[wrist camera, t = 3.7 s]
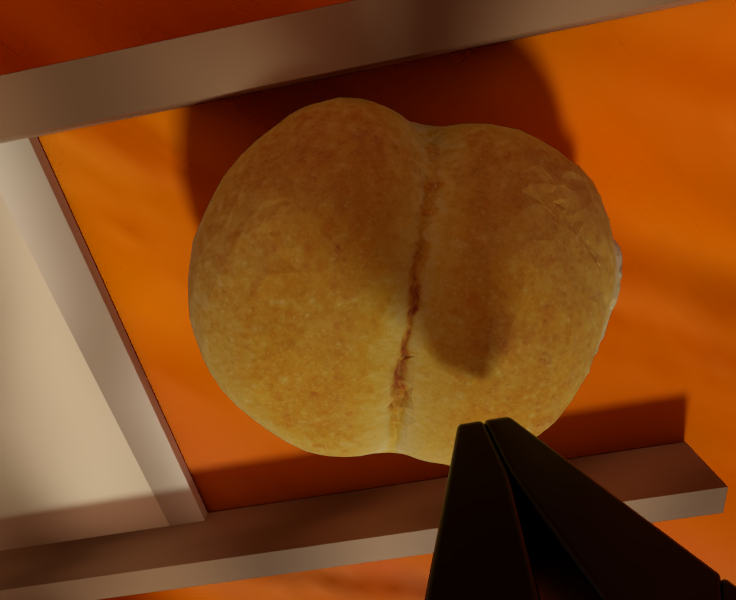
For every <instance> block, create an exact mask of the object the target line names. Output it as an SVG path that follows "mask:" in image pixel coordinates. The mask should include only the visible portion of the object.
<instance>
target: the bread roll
mask: <svg viewBox="0 0 736 600" xmlns="http://www.w3.org/2000/svg"><path fill="white" fill-rule="evenodd" d="M621 277H622V253H621V249H620V246H619V245H618V244H617V243H616V241H615V240H614V239H613V236H612V231H611V227H610V222H609V218H608V216H607V213H606V211H605V208H604V205H603V203H602V200H601V197H600V195H599V193H598V191H597V189H596V187H595V185H594V183H593V181H592V180H591V179H590V178H589V177H588V176H587V175H586V173H585V172H584V171H583V170H582V169H581V168H580V167H579V166H578V165H576V164H575V163H573V162H572V161H570V160H569V159H568V158H567V157H565V156H564V155H563V154H562V153H561V152H559V151H558V150H556V149H555V148H553V147H551V146H550V145H548V144H547V143H545V142H543V141H541V140H540V139H538V138H536V137H534V136H531V135H529V134H527V133H525V132H523V131H521V130H519V129H514V128H508V127H503V126H498V125H493V124H457V125H451V126H431V125H424V124H419V123H415V122H410V121H408V120H407V119H405V118H404V117H403V116H402V115H401V114H399V113H398V112H396V111H394V110H392V109H390V108H388V107H385V106H383V105H380V104H378V103H376V102H373V101H370V100H366V99H362V98H345V97H338V98H334V99H330V100H326V101H322V102H318V103H315V104H311V105H308V106H306V107H303V108H301V109H299V110H297V111H295V112H293V113H292V114H290V115H289V116H287V117H286V118H285V119H283V120H282V121H281V122H279V123H278V124H277V125H276V126H274V127H273V128H272V129H270V130H269V131H268V132H267V133H265V134H264V135H263V136H261V137H260V138H259V139H258V140H256V141H255V142H254V143H253V144H252V145H251V146H250V147H249V148H248V149H247V150H246V151H245V152H244V153H243V154H242V155H241V156H240V157H239V158H238V159H237V160H236V162H235V163H234V164H233V165H232V166H231V167H230V169H229V170H228V171H227V172H226V174H225V175H224V176H223V178H222V180H221V182H220V183H219V185H218V187H217V189H216V191H215V193H214V195H213V197H212V199H211V200H210V202H209V204H208V206H207V209H206V211H205V213H204V215H203V218H202V220H201V223H200V225H199V227H198V230H197V232H196V235H195V238H194V240H193V244H192V252H191V259H190V267H189V275H188V301H189V315H190V321H191V324H192V328H193V332H194V335H195V338H196V340H197V343H198V346H199V348H200V351H201V354H202V357H203V359H204V361H205V363H206V365H207V367H208V369H209V371H210V373H211V374H212V376H213V377H214V379H215V380H216V382H217V383H218V385H219V386H220V388H221V389H222V390H223V391H224V392H225V394H226V395H227V396H228V397H229V398H230V399H231V400H232V401H233V402H234V403H235V404H236V406H238V407H239V408H240V409H241V410H243V411H244V412H245V413H246V414H247V415H249V416H250V417H251V418H252V419H254V420H255V421H256V422H258V423H259V424H260V425H262V426H263V427H264V428H266V429H267V430H269V431H270V432H272V433H273V434H275V435H277V436H278V437H280V438H281V439H283V440H284V441H286V442H288V443H290V444H292V445H294V446H296V447H298V448H300V449H302V450H304V451H307V452H311V453H315V454H319V455H325V456H336V457H353V456H363V455H368V454H373V453H388V452H389V453H400V454H405V455H408V456H411V457H414V458H416V459H419V460H423V461H427V462H432V463H439V464H445V465H450V463H451V458H452V453H453V448H454V442H455V437H456V432H457V428H458V426H459V425H460V424H464V423H470V422H476V421H481V422H483V423H485V421H486V420H489V419H495V418H501V417H509V418H512V419H513V420H515V421H516V422H517V423H519V424H520V425H521V426H523V427H524V428H525V429H527V430H528V431H529V432H531V433H532V434H533V435H535V436H536V437H537V436H538V435H539V434H541V433H542V432H543V431H545V430H546V429H547V428H549V427H550V426H551V425H552V424H553V423H554V422H555V421H556V420H557V419H558V418H559V417H560V415H561V414H562V413H563V411H564V410H565V409H566V407H567V406H568V405H569V403H570V402H571V400H572V399H573V397H574V396H575V394H576V392H577V391H578V389H579V387H580V386H581V384H582V382H583V381H584V379H585V377H586V375H587V374H588V373H589V370H590V366H591V364H592V361H593V358H594V356H595V354H596V353H597V352H598V348H599V344H600V342H601V340H602V338H603V337H604V334H605V331H606V327H607V324H608V321H609V318H610V315H611V312H612V309H613V308H614V306H615V304H616V302H617V298H618V294H619V291H620V280H621Z"/></svg>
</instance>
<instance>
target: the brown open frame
mask: <svg viewBox="0 0 736 600" xmlns="http://www.w3.org/2000/svg"><path fill="white" fill-rule="evenodd" d="M702 1H707V0H353V1H349V2H344V3H339V4H334V5H330V6H325V7H320V8H316V9H311V10H306V11H302V12H297V13H292V14H288V15H283V16H278V17H273V18H269V19H264V20H259V21H255V22H250V23H245V24H241V25H236V26H231V27H226V28H222V29H217V30H212V31H208V32H203V33H198V34H194V35H189V36H184V37H179V38H175V39H170V40H165V41H161V42H156V43H151V44H147V45H142V46H137V47H133V48H128V49H123V50H118V51H114V52H109V53H104V54H100V55H95V56H90V57H86V58H81V59H76V60H71V61H67V62H62V63H57V64H53V65H48V66H43V67H39V68H34V69H29V70H24V71H20V72H15V73H10V74H6V75H1V76H0V600H99V599H106V598H113V597H121V596H128V595H135V594H142V593H149V592H156V591H164V590H171V589H178V588H185V587H192V586H199V585H207V584H214V583H221V582H228V581H235V580H243V579H250V578H257V577H264V576H271V575H278V574H286V573H293V572H300V571H307V570H314V569H321V568H329V567H336V566H343V565H350V564H357V563H365V562H372V561H379V560H386V559H393V558H400V557H408V556H415V555H422V554H429V553H434V548H435V542H436V537H437V532H438V527H439V521H440V516H441V511H442V506H443V500H444V495H445V490H446V485H447V479H448V477H446V478H439V479H432V480H426V481H419V482H412V483H405V484H399V485H392V486H385V487H379V488H372V489H365V490H358V491H352V492H345V493H338V494H332V495H325V496H318V497H311V498H305V499H298V500H291V501H285V502H278V503H271V504H264V505H258V506H251V507H244V508H238V509H231V510H224V511H217V512H211V513H208V512H207V510H206V508H205V506H204V504H203V501H202V499H201V497H200V495H199V493H198V490H197V488H196V486H195V484H194V482H193V479H192V477H191V475H190V473H189V470H188V468H187V466H186V464H185V462H184V459H183V457H182V455H181V453H180V451H179V448H178V446H177V444H176V442H175V440H174V437H173V435H172V433H171V431H170V429H169V426H168V424H167V422H166V420H165V418H164V415H163V413H162V411H161V409H160V407H159V404H158V402H157V400H156V398H155V396H154V393H153V391H152V389H151V387H150V385H149V382H148V380H147V378H146V376H145V374H144V371H143V369H142V367H141V365H140V363H139V360H138V358H137V356H136V354H135V352H134V349H133V347H132V345H131V343H130V341H129V338H128V336H127V334H126V332H125V330H124V327H123V325H122V323H121V321H120V318H119V316H118V314H117V312H116V310H115V307H114V305H113V303H112V301H111V299H110V296H109V294H108V292H107V290H106V288H105V285H104V283H103V281H102V279H101V277H100V274H99V272H98V270H97V268H96V266H95V263H94V261H93V259H92V257H91V255H90V252H89V250H88V248H87V246H86V244H85V241H84V239H83V237H82V235H81V233H80V230H79V228H78V226H77V224H76V222H75V219H74V217H73V215H72V213H71V211H70V208H69V206H68V204H67V202H66V200H65V197H64V195H63V193H62V191H61V189H60V186H59V184H58V182H57V180H56V178H55V175H54V173H53V171H52V169H51V166H50V164H49V162H48V160H47V158H46V155H45V153H44V151H43V149H42V147H41V144H40V142H39V140H38V138H37V137H39V136H43V135H48V134H53V133H58V132H63V131H68V130H73V129H78V128H83V127H88V126H93V125H98V124H102V123H107V122H112V121H117V120H122V119H127V118H132V117H137V116H142V115H147V114H152V113H156V112H161V111H166V110H171V109H176V108H181V107H186V106H191V105H196V104H201V103H206V102H211V101H215V100H220V99H225V98H230V97H235V96H240V95H245V94H250V93H255V92H260V91H265V90H270V89H274V88H279V87H284V86H289V85H294V84H299V83H304V82H309V81H314V80H319V79H324V78H328V77H333V76H338V75H343V74H348V73H353V72H358V71H363V70H368V69H373V68H378V67H383V66H387V65H392V64H397V63H402V62H407V61H412V60H417V59H422V58H427V57H432V56H437V55H441V54H446V53H451V52H456V51H461V50H466V49H471V48H476V47H481V46H486V45H491V44H496V43H500V42H505V41H510V40H515V39H520V38H525V37H530V36H535V35H540V34H545V33H550V32H554V31H559V30H564V29H569V28H574V27H579V26H584V25H589V24H594V23H599V22H604V21H609V20H613V19H618V18H623V17H628V16H633V15H638V14H643V13H648V12H653V11H658V10H663V9H667V8H672V7H677V6H682V5H687V4H692V3H697V2H702ZM567 460H568V461H569V462H570V463H572V464H573V465H574V466H576V467H577V468H578V469H580V470H581V471H582V472H584V473H585V474H586V475H588V476H589V477H590V478H592V479H593V480H594V481H596V482H597V483H598V484H600V485H601V486H602V487H604V488H605V489H606V490H608V491H609V492H610V493H612V494H613V495H614V496H616V497H617V498H618V499H620V500H621V501H622V502H624V503H625V504H626V505H628V506H629V507H630V508H632V509H633V510H634V511H636V512H637V513H638V514H640V515H641V516H642V517H644V518H645V519H646V520H648V521H649V522H650V523H652V522H659V521H666V520H673V519H680V518H687V517H695V516H702V515H709V514H716V513H723V510H724V505H725V499H726V494H727V489H728V487H727V485H726V484H725V483H724V482H723V481H722V480H721V479H720V478H719V477H718V476H717V475H716V474H715V473H714V472H713V471H712V470H711V469H710V467H709V466H708V465H707V464H706V463H705V462H704V461H703V460H702V459H701V458H700V457H699V456H698V455H697V454H696V453H695V452H694V451H693V449H692V448H691V447H690V446H689V445H688V444H687V443H686V442H681V443H674V444H667V445H661V446H654V447H647V448H641V449H634V450H627V451H620V452H614V453H607V454H600V455H594V456H587V457H580V458H573V459H567Z"/></svg>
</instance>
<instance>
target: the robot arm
mask: <svg viewBox="0 0 736 600" xmlns="http://www.w3.org/2000/svg"><path fill="white" fill-rule="evenodd" d="M425 600H736V586H735V585H733V584H732V583H731V582H729V581H728V580H726V579H723V580H721V579H720V575H719V574H718V573H717V572H716V571H714V570H713V569H712V568H710V567H709V566H708V565H706V564H705V563H704V562H702V561H701V560H700V559H698V558H697V557H696V556H694V555H693V554H692V553H690V552H689V551H688V550H686V549H685V548H684V547H682V546H681V545H680V544H678V543H677V542H676V541H674V540H673V539H672V538H670V537H669V536H668V535H666V534H665V533H664V532H662V531H661V530H660V529H658V528H657V527H656V526H654V525H653V524H652V523H650V522H649V521H648V520H646V519H645V518H644V517H642V516H641V515H640V514H638V513H637V512H636V511H634V510H633V509H632V508H630V507H629V506H628V505H626V504H625V503H624V502H622V501H621V500H620V499H618V498H617V497H616V496H614V495H613V494H612V493H610V492H609V491H608V490H606V489H605V488H604V487H602V486H601V485H600V484H598V483H597V482H596V481H594V480H593V479H592V478H590V477H589V476H588V475H586V474H585V473H584V472H582V471H581V470H580V469H578V468H577V467H576V466H574V465H573V464H572V463H570V462H569V461H568V460H567V459H565V458H564V457H563V456H561V455H560V454H559V453H557V452H556V451H555V450H553V449H552V448H551V447H549V446H548V445H547V444H545V443H544V442H543V441H541V440H540V439H539V438H537V437H536V436H535V435H533V434H532V433H531V432H529V431H528V430H527V429H525V428H524V427H523V426H521V425H520V424H519V423H517V422H516V421H515V420H513V419H512V418H509V417H501V418H495V419H489V420H486V421H485V423H483V422H481V421H476V422H470V423H464V424H460V425H459V426H458V428H457V432H456V437H455V442H454V448H453V453H452V458H451V463H450V469H449V474H448V479H447V485H446V490H445V495H444V500H443V506H442V511H441V516H440V521H439V527H438V532H437V537H436V542H435V548H434V553H433V558H432V563H431V569H430V574H429V579H428V585H427V590H426V595H425Z"/></svg>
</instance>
